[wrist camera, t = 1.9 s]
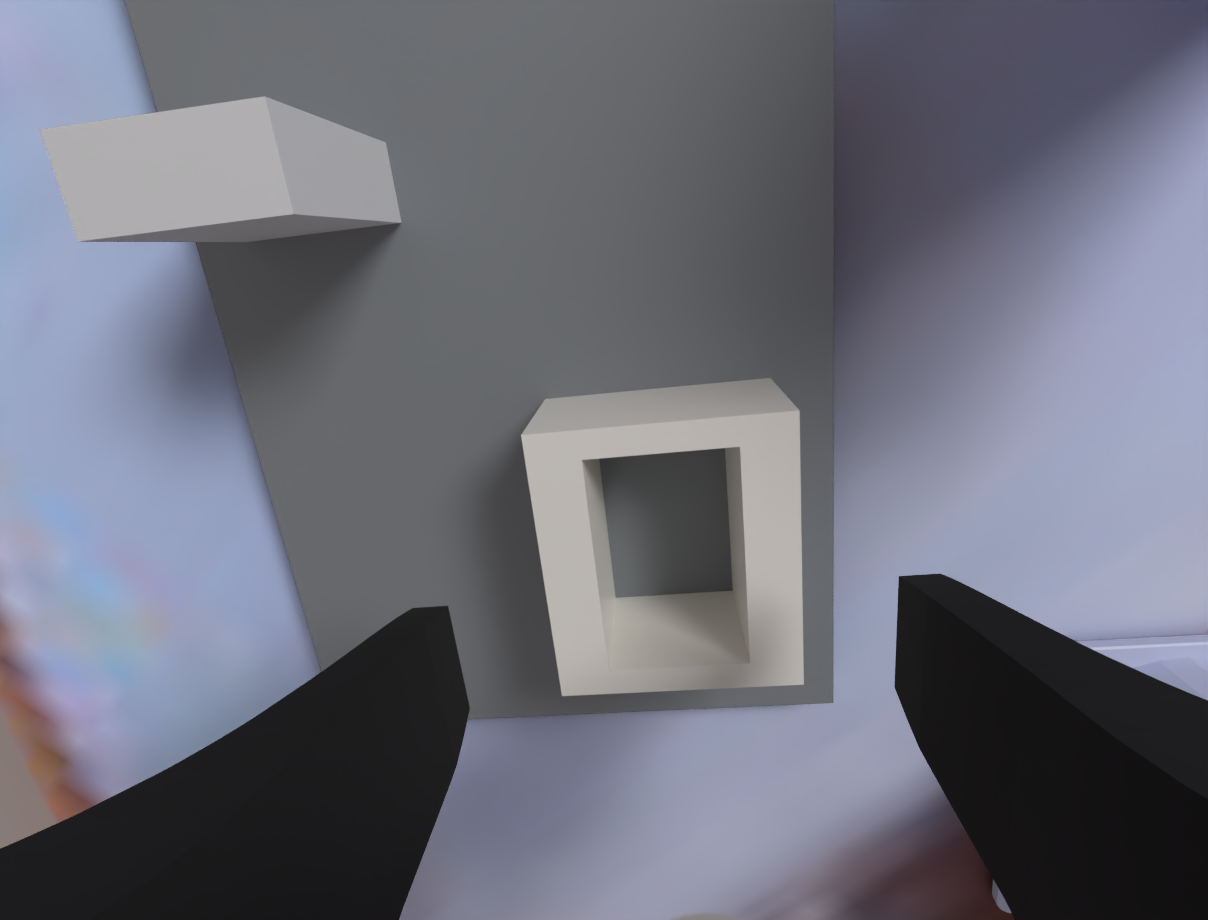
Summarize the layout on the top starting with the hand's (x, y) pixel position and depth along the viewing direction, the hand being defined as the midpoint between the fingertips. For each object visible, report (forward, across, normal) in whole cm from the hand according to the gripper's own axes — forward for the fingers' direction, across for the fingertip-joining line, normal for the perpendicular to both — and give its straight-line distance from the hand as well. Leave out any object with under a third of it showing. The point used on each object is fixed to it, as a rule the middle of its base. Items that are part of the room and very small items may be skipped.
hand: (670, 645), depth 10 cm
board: (+7, +3, -4) cm, 8 cm away
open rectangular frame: (+6, 0, 0) cm, 6 cm away
